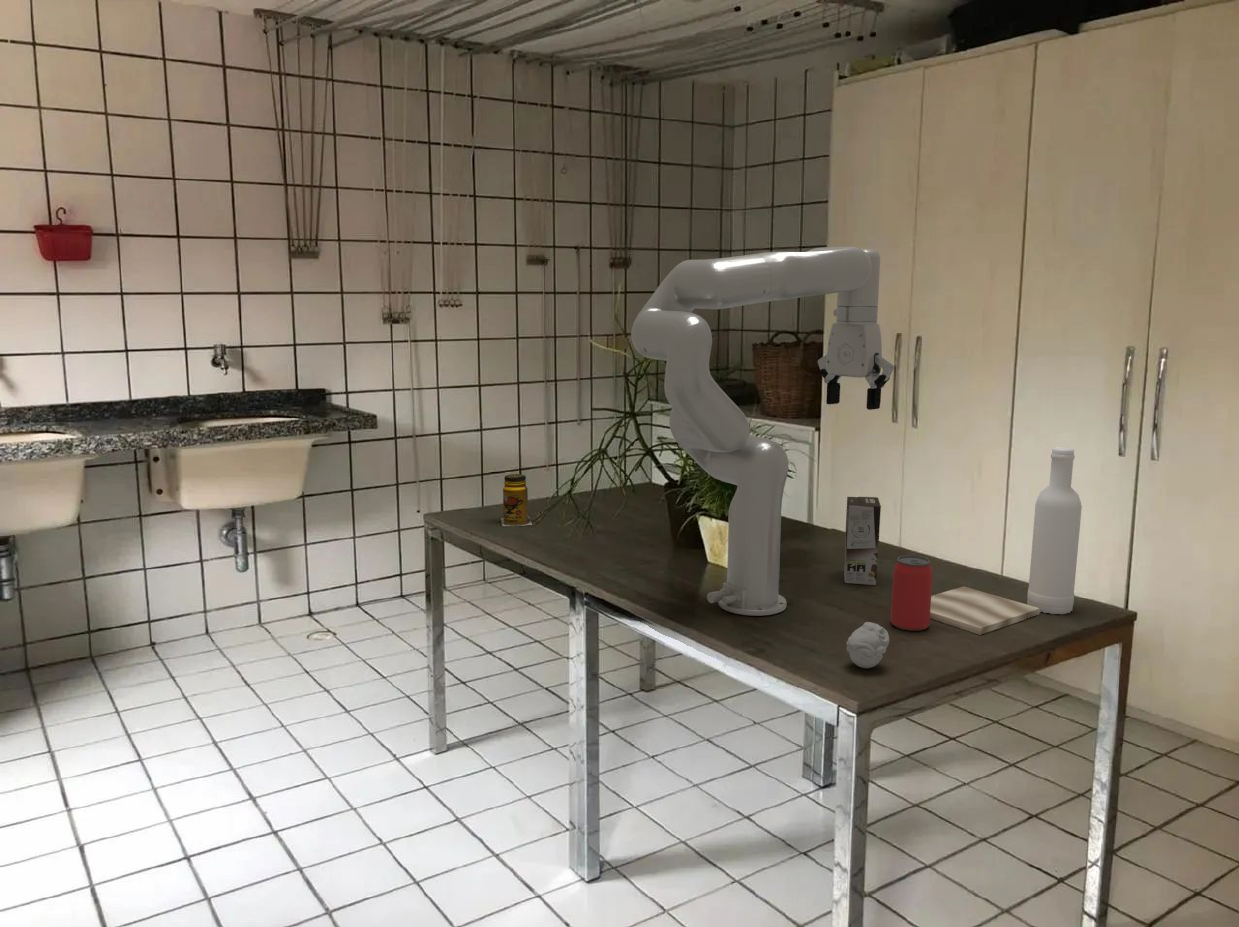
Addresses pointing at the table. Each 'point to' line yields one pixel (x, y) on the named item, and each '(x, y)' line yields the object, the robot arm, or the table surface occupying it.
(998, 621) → the birch board
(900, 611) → the beer can
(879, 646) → the frog figurine
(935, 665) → the table surface
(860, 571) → the coffee box
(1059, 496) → the bottle
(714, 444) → the robot arm
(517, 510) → the condiment
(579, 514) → the table surface
